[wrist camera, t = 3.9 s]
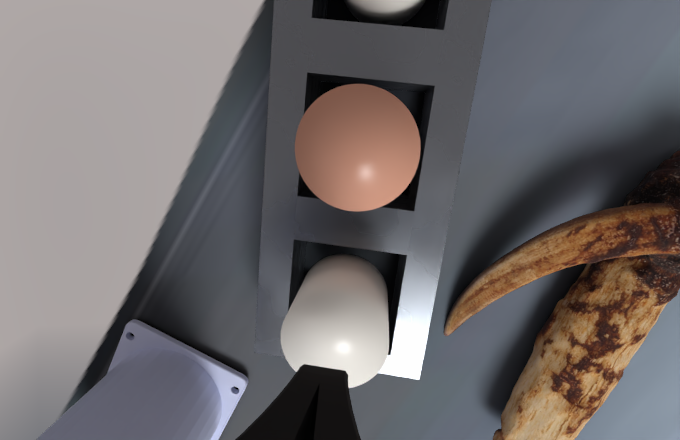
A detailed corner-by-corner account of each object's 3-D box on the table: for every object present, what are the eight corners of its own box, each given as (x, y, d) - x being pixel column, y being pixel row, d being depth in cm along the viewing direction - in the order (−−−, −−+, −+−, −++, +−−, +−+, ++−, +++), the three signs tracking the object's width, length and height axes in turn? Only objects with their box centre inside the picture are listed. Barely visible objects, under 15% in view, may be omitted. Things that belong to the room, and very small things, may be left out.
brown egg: (403, 195, 16) (409, 218, 12) (311, 184, 17) (290, 203, 13) (418, 98, 15) (430, 90, 11) (320, 88, 16) (300, 77, 12)
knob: (381, 338, 18) (381, 397, 14) (299, 325, 18) (277, 379, 15) (393, 260, 17) (396, 300, 13) (306, 248, 17) (284, 284, 14)
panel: (413, 338, 21) (419, 379, 18) (274, 316, 22) (254, 352, 18) (493, -106, 16) (523, -168, 12) (304, -118, 16) (283, -180, 13)
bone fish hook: (563, 95, 18) (399, 389, 23) (621, 82, 14) (401, 453, 18) (748, 176, 18) (545, 457, 22) (871, 190, 13) (584, 539, 18)
